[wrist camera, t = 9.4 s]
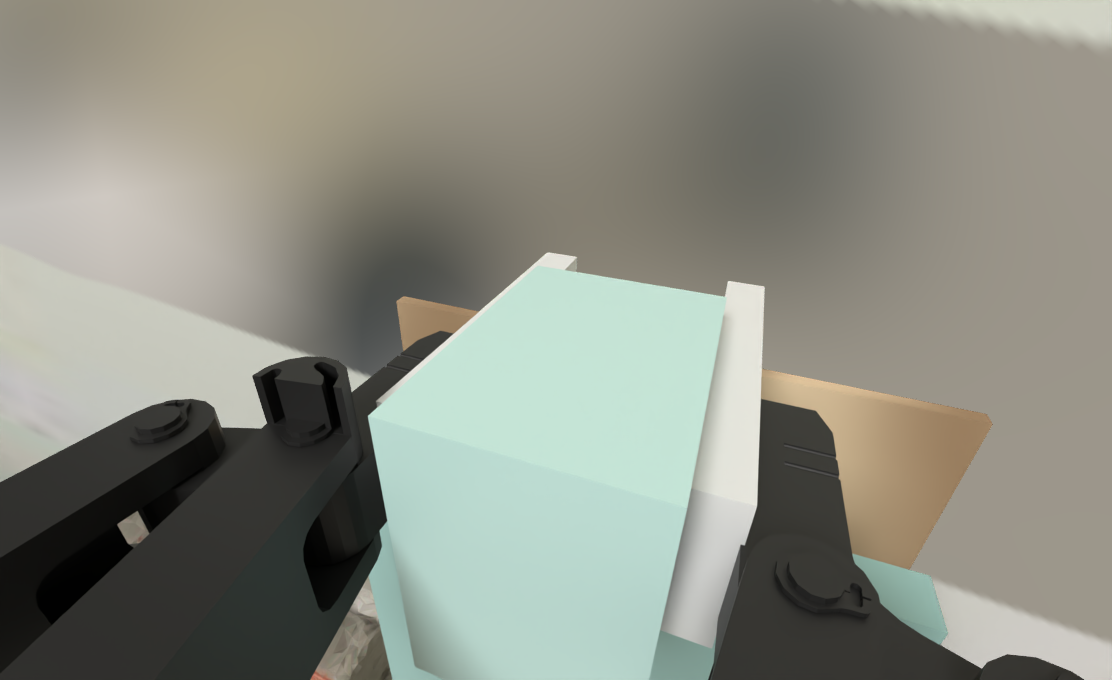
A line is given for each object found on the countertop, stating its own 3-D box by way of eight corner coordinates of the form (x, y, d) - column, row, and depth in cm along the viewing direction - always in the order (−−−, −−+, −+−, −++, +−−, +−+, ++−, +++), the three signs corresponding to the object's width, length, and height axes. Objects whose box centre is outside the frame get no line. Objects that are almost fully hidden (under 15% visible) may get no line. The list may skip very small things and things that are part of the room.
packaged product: (344, 679, 22) (345, 763, 27) (410, 583, 26) (399, 673, 31) (35, 499, 25) (91, 606, 30) (136, 438, 29) (170, 543, 34)
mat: (445, 626, 25) (441, 634, 25) (404, 296, 17) (396, 301, 16) (789, 767, 21) (789, 778, 21) (986, 413, 12) (992, 423, 12)
